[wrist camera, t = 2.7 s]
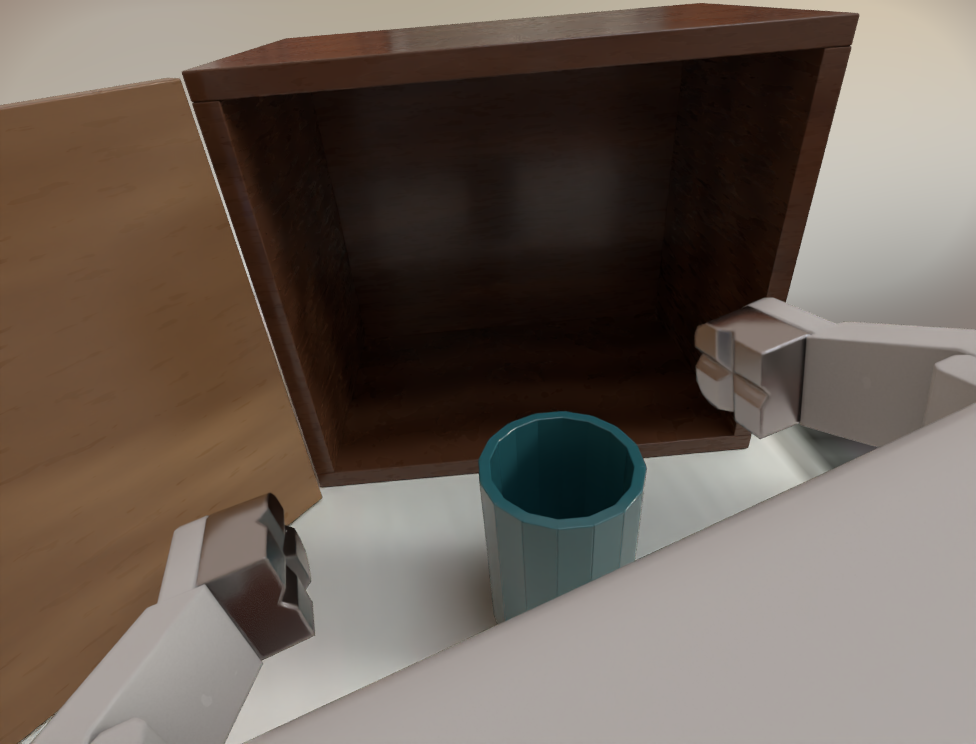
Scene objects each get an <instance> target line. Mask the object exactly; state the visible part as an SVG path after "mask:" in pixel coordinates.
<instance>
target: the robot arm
mask: <svg viewBox="0 0 976 744" xmlns="http://www.w3.org/2000/svg"><path fill="white" fill-rule="evenodd" d="M694 344H695V347H696V348H697V349H698V350H699V351H700V352H701V353H702V354H701V356H700V358H699V360H698V362H697V364H696V366H695V367H696V379H697V383H698V385H699V388H700V390H701V392H702V394H703V395H704V397H705V398H706V399H707V400H708V402H709V403H711V404H712V405H713V406H715V407H716V408H717V409H721V410H726V411H731V412H733V414H734V421H735V422H737V423H738V424H740V425H741V426H742V427H744V428H745V429H747V430H748V431H749V432H751V433H752V434H754V435H755V436H756V437H758V438H759V439H762V438H764V437H767V436H769V435H772V434H774V433H777V432H779V431H781V430H784V429H786V428H789V427H791V426H794V425H796V424H799V423H800V425H802V426H805V427H809V428H812V429H816V430H819V431H823V432H826V433H830V434H833V435H837V436H840V437H844V438H847V439H851V440H854V441H858V442H861V443H865V444H868V445H872V446H875V447H879V448H877V449H875V450H873V451H871V452H869V453H867V454H865V455H862V456H860V457H858V458H856V459H854V460H852V461H849V462H847V463H845V464H843V465H841V466H839V467H836V468H834V469H832V470H830V471H828V472H826V473H823V474H821V475H819V476H817V477H815V478H813V479H810V480H808V481H806V482H804V483H802V484H800V485H797V486H795V487H793V488H791V489H789V490H787V491H784V492H782V493H780V494H778V495H776V496H774V497H771V498H769V499H767V500H765V501H763V502H761V503H758V504H756V505H754V506H752V507H750V508H748V509H745V510H743V511H741V512H739V513H737V514H735V515H733V516H730V517H728V518H726V519H724V520H722V521H720V522H717V523H715V524H713V525H711V526H709V527H707V528H704V529H702V530H700V531H698V532H696V533H694V534H692V535H689V536H687V537H685V538H683V539H681V540H679V541H676V542H674V543H672V544H670V545H668V546H666V547H664V548H661V549H659V550H657V551H655V552H653V553H651V554H649V555H646V556H644V557H642V558H640V559H638V560H636V561H634V562H631V563H629V564H627V565H625V566H623V567H621V568H619V569H616V570H614V571H612V572H610V573H608V574H606V575H604V576H601V577H599V578H597V579H595V580H593V581H591V582H588V583H586V584H584V585H582V586H580V587H578V588H576V589H573V590H571V591H569V592H567V593H565V594H563V595H561V596H558V597H556V598H554V599H552V600H550V601H548V602H546V603H543V604H541V605H539V606H537V607H535V608H533V609H531V610H528V611H526V612H524V613H522V614H520V615H518V616H515V617H513V618H511V619H509V620H507V621H505V622H503V623H500V624H498V625H496V626H494V627H492V628H490V629H487V630H485V631H483V632H481V633H479V634H477V635H475V636H472V637H470V638H468V639H466V640H464V641H462V642H460V643H457V644H455V645H453V646H451V647H449V648H447V649H444V650H442V651H440V652H438V653H436V654H434V655H432V656H429V657H427V658H425V659H423V660H421V661H419V662H416V663H414V664H412V665H410V666H408V667H406V668H404V669H401V670H399V671H397V672H395V673H393V674H391V675H389V676H386V677H384V678H382V679H380V680H378V681H376V682H373V683H371V684H369V685H367V686H365V687H363V688H361V689H358V690H356V691H354V692H352V693H350V694H348V695H345V696H343V697H341V698H339V699H337V700H335V701H333V702H330V703H328V704H326V705H324V706H322V707H320V708H318V709H315V710H313V711H311V712H309V713H307V714H305V715H302V716H300V717H298V718H296V719H294V720H292V721H290V722H287V723H285V724H283V725H281V726H279V727H277V728H274V729H272V730H270V731H268V732H266V733H264V734H262V735H259V736H257V737H255V738H253V739H251V740H249V741H246V742H244V743H242V744H976V330H973V329H958V328H942V327H926V326H910V325H894V324H878V323H877V324H876V323H861V322H845V321H844V322H841V323H839V324H836V323H833V322H831V321H829V320H826V319H824V318H821V317H818V316H817V315H814V314H812V313H809V312H807V311H804V310H802V309H800V308H797V307H795V306H792V305H790V304H788V303H785V302H783V301H780V300H778V299H776V298H762V299H760V300H758V301H756V302H753V303H751V304H749V305H746V306H744V307H742V308H740V309H738V310H736V311H733V312H731V313H728V314H726V315H723V316H721V317H719V318H716V319H714V320H711V321H709V322H706V323H704V324H702V325H699V326H697V328H696V331H695V334H694ZM310 583H311V573H310V566H309V562H308V558H307V554H306V551H305V548H304V546H303V544H302V541H301V539H300V537H299V535H298V534H297V532H296V530H295V529H294V528H292V527H289V526H287V525H285V522H284V509H283V507H282V506H281V504H280V502H279V501H278V499H277V497H276V496H275V495H274V494H272V493H271V492H270V493H267V494H264V495H261V496H259V497H256V498H253V499H251V500H248V501H245V502H243V503H240V504H237V505H234V506H232V507H229V508H226V509H224V510H221V511H218V512H215V513H213V514H211V515H210V516H204V517H202V518H199V519H197V520H194V521H192V522H189V523H187V524H184V525H182V526H179V527H178V528H177V529H176V530H175V531H174V533H173V537H172V541H171V545H170V549H169V554H168V558H167V562H166V566H165V571H164V575H163V579H162V584H161V588H160V592H159V596H158V601H157V604H155V605H152V606H150V607H148V608H146V609H145V610H144V612H143V613H142V614H141V615H140V616H139V617H138V619H137V620H136V621H135V622H134V623H133V624H132V626H131V627H130V628H129V629H128V630H127V631H126V633H125V634H124V635H123V636H122V637H121V638H120V640H119V641H118V642H117V643H116V644H115V645H114V647H113V648H112V649H111V650H110V651H109V652H108V654H107V655H106V656H105V657H104V658H103V659H102V661H101V662H100V663H99V664H98V665H97V666H96V668H95V669H94V670H93V671H92V672H91V673H90V675H89V676H88V677H87V678H86V679H85V680H84V682H83V683H82V684H81V685H80V686H79V687H78V689H77V690H76V691H75V692H74V693H73V694H72V696H71V697H70V698H69V699H68V700H67V701H66V702H65V704H64V705H63V706H62V707H61V708H60V709H59V711H58V712H57V713H56V714H55V715H54V716H53V718H52V719H51V720H50V721H49V722H48V723H47V725H46V726H45V727H44V728H43V729H42V730H41V732H40V733H39V734H38V735H37V736H36V737H35V739H34V740H33V741H32V742H31V743H30V744H225V742H226V739H227V737H228V735H229V733H230V731H231V729H232V727H233V725H234V723H235V721H236V719H237V716H238V714H239V712H240V710H241V708H242V706H243V704H244V702H245V700H246V698H247V696H248V693H249V691H250V689H251V687H252V685H253V683H254V681H255V679H256V677H257V675H258V673H259V670H260V668H261V666H262V664H263V663H262V660H264V659H266V658H268V657H271V656H273V655H275V654H277V653H279V652H281V651H283V650H285V649H287V648H290V647H292V646H294V645H296V644H298V643H300V642H302V641H304V640H307V639H309V638H311V637H313V636H315V628H314V613H313V602H312V600H311V598H310V597H309V595H308V593H307V591H306V589H307V588H308V586H309V584H310Z"/></svg>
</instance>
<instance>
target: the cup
mask: <svg viewBox="0 0 976 744" xmlns="http://www.w3.org/2000/svg"><path fill="white" fill-rule="evenodd" d="M478 466H479V482H480V491H481V500H482V510H483V519H484V528H485V537H486V546H487V555H488V564H489V573H490V582H491V591H492V600H493V609H494V615H495V619H496V623H497V625H498V624H500V623H503V622H505V621H507V620H509V619H511V618H513V617H515V616H518V615H520V614H522V613H524V612H526V611H528V610H531V609H533V608H535V607H537V606H539V605H541V604H543V603H546V602H548V601H550V600H552V599H554V598H556V597H558V596H561V595H563V594H565V593H567V592H569V591H571V590H573V589H576V588H578V587H580V586H582V585H584V584H586V583H588V582H591V581H593V580H595V579H597V578H599V577H601V576H604V575H606V574H608V573H610V572H612V571H614V570H616V569H619V568H621V567H623V566H625V565H627V564H629V563H631V562H634V561H635V559H636V551H637V543H638V535H639V527H640V518H641V510H642V502H643V494H644V486H645V478H646V470H647V469H646V465H645V462H644V460H643V457H642V455H641V453H640V450H639V448H638V446H637V444H636V443H635V442H634V441H633V440H631V439H630V438H629V437H628V436H627V435H626V434H625V433H624V432H623V431H622V430H621V429H619V428H618V427H617V426H615V425H612V424H610V423H608V422H606V421H603V420H601V419H599V418H597V417H594V416H591V415H585V414H579V413H573V412H566V411H558V412H547V413H536V414H532V415H529V416H526V417H524V418H521V419H518V420H516V421H513V422H510V423H509V424H507V425H506V426H504V427H503V428H502V429H501V430H499V431H498V432H497V433H496V434H494V435H493V436H492V437H491V438H490V439H489V440H488V442H487V444H486V446H485V447H484V449H483V451H482V453H481V455H480V457H479V460H478Z"/></svg>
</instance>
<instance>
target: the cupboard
mask: <svg viewBox="0 0 976 744" xmlns="http://www.w3.org/2000/svg"><path fill="white" fill-rule="evenodd" d="M858 19H859V14H858V13H848V12H832V11H816V10H801V9H784V8H769V7H753V6H738V5H722V4H705V3H697V4H685V5H673V6H662V7H650V8H638V9H627V10H615V11H603V12H591V13H579V14H568V15H557V16H544V17H532V18H522V19H510V20H498V21H486V22H474V23H462V24H451V25H439V26H427V27H415V28H404V29H393V30H380V31H368V32H357V33H345V34H334V35H321V36H310V37H298V38H286V39H283V40H280V41H276V42H273V43H270V44H267V45H264V46H261V47H258V48H254V49H251V50H248V51H245V52H242V53H238V54H235V55H232V56H229V57H226V58H222V59H219V60H216V61H213V62H210V63H207V64H203V65H200V66H197V67H194V68H191V69H188V70H185V71H183V72H182V75H183V78H184V81H185V84H186V87H187V90H188V93H189V96H190V99H191V101H192V102H194V103H192V105H193V108H194V111H195V114H196V117H197V120H198V123H199V126H200V129H201V131H202V135H203V138H204V141H205V144H206V147H207V150H208V153H209V156H210V159H211V162H212V164H213V168H214V170H215V173H216V176H217V179H218V182H219V185H220V188H221V191H222V194H223V197H224V200H225V203H226V206H227V209H228V212H229V215H230V218H231V221H232V224H233V227H234V230H235V233H236V236H237V239H238V242H239V245H240V248H241V251H242V254H243V257H244V260H245V263H246V266H247V269H248V271H249V275H250V278H251V281H252V283H253V286H254V289H255V292H256V295H257V298H258V301H259V304H260V307H261V310H262V313H263V316H264V319H265V322H266V325H267V328H268V331H269V334H270V337H271V340H272V343H273V346H274V349H275V352H276V355H277V358H278V361H279V364H280V367H281V370H282V373H283V376H284V379H285V382H286V385H287V387H288V390H289V393H290V396H291V399H292V402H293V405H294V408H295V411H296V414H297V417H298V420H299V423H300V426H301V429H302V432H303V435H304V438H305V441H306V444H307V447H308V450H309V453H310V456H311V459H312V462H313V465H314V468H315V471H316V473H317V477H318V480H319V483H320V486H321V487H327V486H338V485H349V484H360V483H371V482H382V481H393V480H403V479H414V478H425V477H436V476H447V475H458V474H469V473H479V466H478V460H479V457H480V455H481V453H482V451H483V449H484V447H485V446H486V444H487V442H488V440H489V439H490V438H491V437H492V436H493V435H494V434H496V433H497V432H498V431H499V430H501V429H502V428H503V427H504V426H506V425H507V424H509V423H510V422H513V421H516V420H518V419H521V418H524V417H526V416H529V415H532V414H536V413H547V412H558V411H566V412H573V413H579V414H585V415H591V416H594V417H597V418H599V419H601V420H603V421H606V422H608V423H610V424H612V425H615V426H617V427H618V428H619V429H621V430H622V431H623V432H624V433H625V434H626V435H627V436H628V437H629V438H630V439H631V440H633V441H634V442H635V443H636V444H637V446H638V448H639V450H640V453H641V455H642V457H654V456H665V455H676V454H687V453H698V452H709V451H719V450H730V449H741V448H748V446H749V442H750V439H751V434H752V433H751V432H749V431H748V430H747V429H745V428H744V427H742V426H741V425H740V424H738V423H737V422H735V421H734V414H733V412H731V411H726V410H721V409H717V408H716V407H715V406H713V405H712V404H711V403H709V402H708V400H707V399H706V398H705V397H704V395H703V394H702V392H701V390H700V388H699V385H698V383H697V379H696V367H695V366H696V364H697V362H698V360H699V358H700V356H701V354H702V353H701V352H700V351H699V350H698V349H697V348H696V347H695V344H694V334H695V331H696V328H697V326H699V325H702V324H704V323H706V322H709V321H711V320H714V319H716V318H719V317H721V316H723V315H726V314H728V313H731V312H733V311H736V310H738V309H740V308H742V307H744V306H746V305H749V304H751V303H753V302H756V301H758V300H760V299H762V298H776V299H778V300H780V301H783V302H785V303H786V299H787V295H788V292H789V288H790V284H791V280H792V276H793V272H794V268H795V265H796V260H797V257H798V253H799V249H800V245H801V241H802V237H803V233H804V230H805V226H806V222H807V217H808V214H809V210H810V206H811V202H812V198H813V195H814V191H815V187H816V183H817V179H818V175H819V171H820V168H821V164H822V160H823V156H824V152H825V148H826V144H827V140H828V136H829V132H830V128H831V125H832V121H833V117H834V113H835V109H836V105H837V101H838V97H839V94H840V90H841V86H842V82H843V78H844V74H845V71H846V67H847V62H848V59H849V55H850V51H851V46H850V45H852V42H853V38H854V34H855V30H856V26H857V23H858Z"/></svg>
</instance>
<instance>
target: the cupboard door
mask: <svg viewBox="0 0 976 744" xmlns="http://www.w3.org/2000/svg"><path fill="white" fill-rule="evenodd" d="M270 492H271V493H272V494H274V495H275V496H276V497H277V499H278V501H279V502H280V504H281V506H282V507H283V509H284V522H285V525H287V526H288V525H289V524H290V523H291V522H293V521H294V520H295V519H296V518H298V517H299V516H300V515H301V514H303V513H304V512H305V511H306V510H308V509H309V508H310V507H311V506H313V505H314V504H315V503H316V502H317V501H319V500H320V499H321V498H322V495H321V492H320V489H319V486H318V483H317V480H316V477H315V474H314V471H313V468H312V465H311V462H310V459H309V457H308V454H307V451H306V448H305V445H304V442H303V439H302V436H301V433H300V430H299V427H298V424H297V421H296V418H295V415H294V412H293V409H292V406H291V404H290V401H289V398H288V395H287V392H286V389H285V386H284V383H283V380H282V377H281V374H280V371H279V368H278V365H277V362H276V359H275V356H274V353H273V351H272V348H271V345H270V342H269V339H268V336H267V333H266V330H265V327H264V324H263V321H262V318H261V315H260V312H259V309H258V306H257V303H256V300H255V298H254V295H253V292H252V289H251V286H250V283H249V280H248V277H247V274H246V271H245V268H244V265H243V262H242V259H241V256H240V254H239V250H238V248H237V245H236V242H235V239H234V236H233V233H232V230H231V227H230V224H229V221H228V218H227V215H226V213H225V209H224V206H223V203H222V200H221V197H220V194H219V192H218V189H217V186H216V183H215V180H214V177H213V174H212V171H211V168H210V165H209V162H208V159H207V156H206V153H205V150H204V147H203V144H202V141H201V139H200V136H199V133H198V130H197V127H196V124H195V121H194V118H193V115H192V112H191V109H190V106H189V103H188V100H187V98H186V95H185V92H184V89H183V86H182V83H181V80H180V79H179V78H163V79H157V80H151V81H146V82H139V83H133V84H127V85H121V86H115V87H108V88H102V89H96V90H90V91H84V92H78V93H72V94H66V95H60V96H53V97H47V98H41V99H35V100H29V101H23V102H17V103H11V104H4V105H0V744H17V743H18V742H20V741H21V740H22V739H23V738H25V737H26V736H27V735H28V734H30V733H31V732H32V731H33V730H35V729H36V728H37V727H38V726H40V725H41V724H42V723H43V722H45V721H46V720H47V719H48V718H49V717H51V716H52V715H53V714H54V713H56V712H57V711H58V710H59V709H60V708H61V707H62V706H63V705H64V704H65V702H66V701H67V700H68V699H69V698H70V697H71V696H72V694H73V693H74V692H75V691H76V690H77V689H78V687H79V686H80V685H81V684H82V683H83V682H84V680H85V679H86V678H87V677H88V676H89V675H90V673H91V672H92V671H93V670H94V669H95V668H96V666H97V665H98V664H99V663H100V662H101V661H102V659H103V658H104V657H105V656H106V655H107V654H108V652H109V651H110V650H111V649H112V648H113V647H114V645H115V644H116V643H117V642H118V641H119V640H120V638H121V637H122V636H123V635H124V634H125V633H126V631H127V630H128V629H129V628H130V627H131V626H132V624H133V623H134V622H135V621H136V620H137V619H138V617H139V616H140V615H141V614H142V613H143V612H144V610H145V609H146V608H148V607H150V606H152V605H155V604H157V601H158V596H159V592H160V588H161V584H162V579H163V575H164V571H165V566H166V562H167V558H168V554H169V549H170V545H171V541H172V537H173V533H174V531H175V530H176V529H177V528H178V527H179V526H182V525H184V524H187V523H189V522H192V521H194V520H197V519H199V518H202V517H204V516H210V515H211V514H213V513H215V512H218V511H221V510H224V509H226V508H229V507H232V506H234V505H237V504H240V503H243V502H245V501H248V500H251V499H253V498H256V497H259V496H261V495H264V494H267V493H270Z"/></svg>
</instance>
